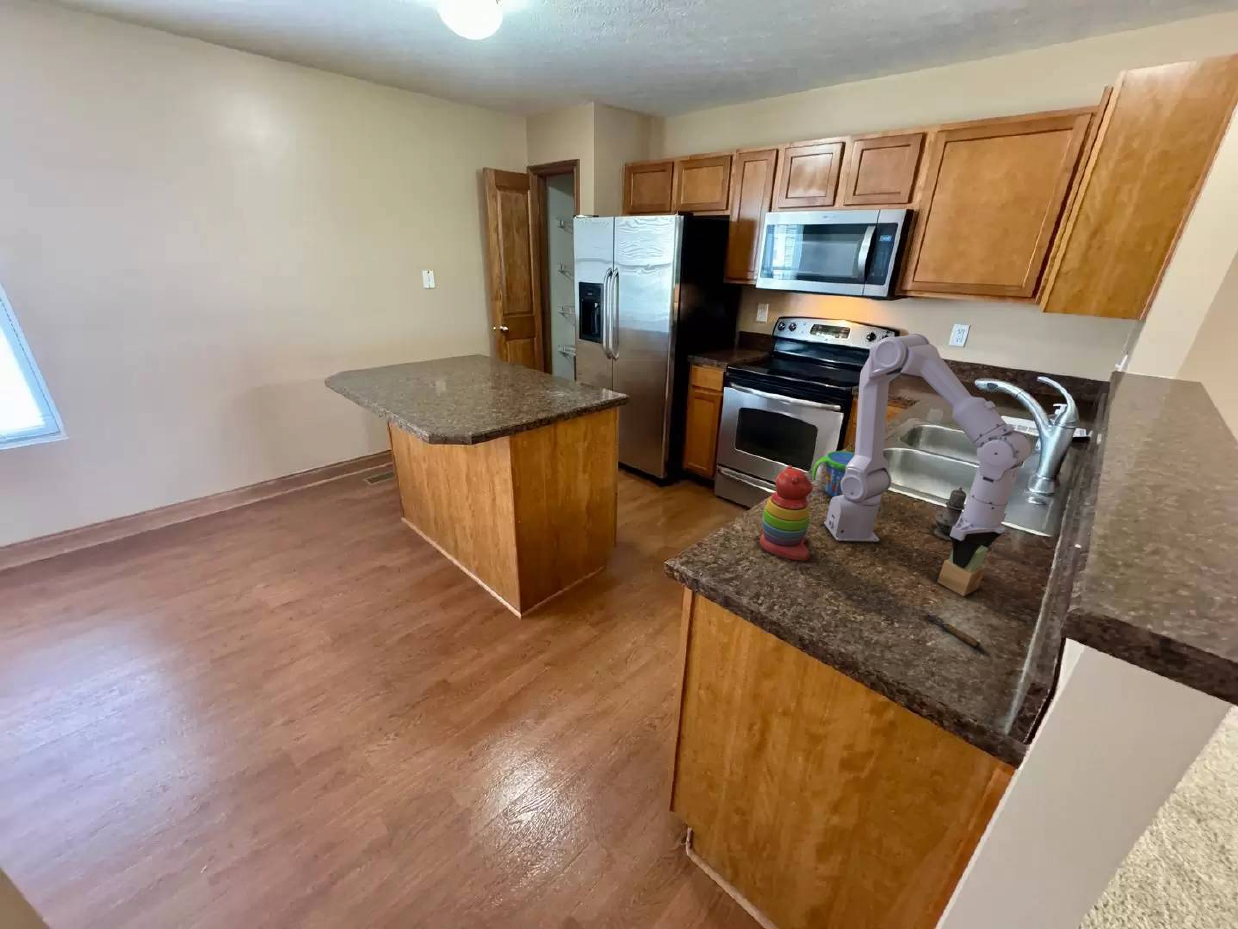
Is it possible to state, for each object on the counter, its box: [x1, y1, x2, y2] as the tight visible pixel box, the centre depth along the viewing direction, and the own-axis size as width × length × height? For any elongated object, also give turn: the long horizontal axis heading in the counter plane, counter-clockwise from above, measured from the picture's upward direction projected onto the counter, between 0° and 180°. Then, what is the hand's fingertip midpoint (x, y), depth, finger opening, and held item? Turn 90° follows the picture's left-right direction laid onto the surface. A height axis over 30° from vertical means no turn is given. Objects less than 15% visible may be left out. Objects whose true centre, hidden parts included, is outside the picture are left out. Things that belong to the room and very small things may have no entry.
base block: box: [937, 557, 986, 597], centre depth 98 cm, size 5×5×5 cm
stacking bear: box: [759, 465, 814, 562], centre depth 107 cm, size 11×10×18 cm
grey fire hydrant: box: [932, 486, 967, 542], centre depth 114 cm, size 6×6×12 cm
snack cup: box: [811, 450, 855, 498], centre depth 132 cm, size 16×10×10 cm
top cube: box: [948, 545, 989, 572], centre depth 96 cm, size 4×4×4 cm
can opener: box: [926, 612, 981, 649], centre depth 86 cm, size 9×2×1 cm, turn 23°
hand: (965, 561), depth 97 cm, fingers closed on top cube, 4 cm apart
